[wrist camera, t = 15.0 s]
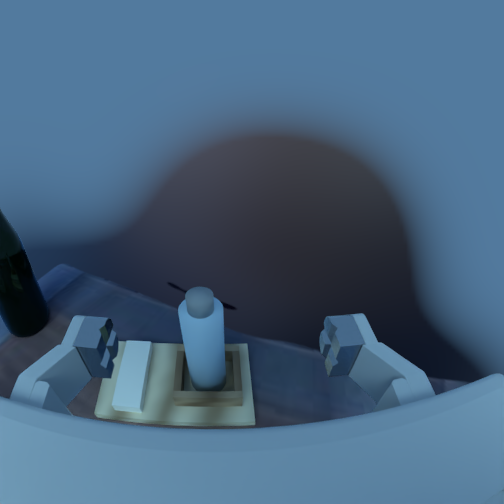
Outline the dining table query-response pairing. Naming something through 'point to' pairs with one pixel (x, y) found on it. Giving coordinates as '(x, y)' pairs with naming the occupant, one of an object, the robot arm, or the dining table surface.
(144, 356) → the white rectangular bar
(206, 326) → the tapered blue cylinder
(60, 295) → the dining table surface
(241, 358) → the jig
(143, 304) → the dining table surface
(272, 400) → the dining table surface
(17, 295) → the green wine bottle
